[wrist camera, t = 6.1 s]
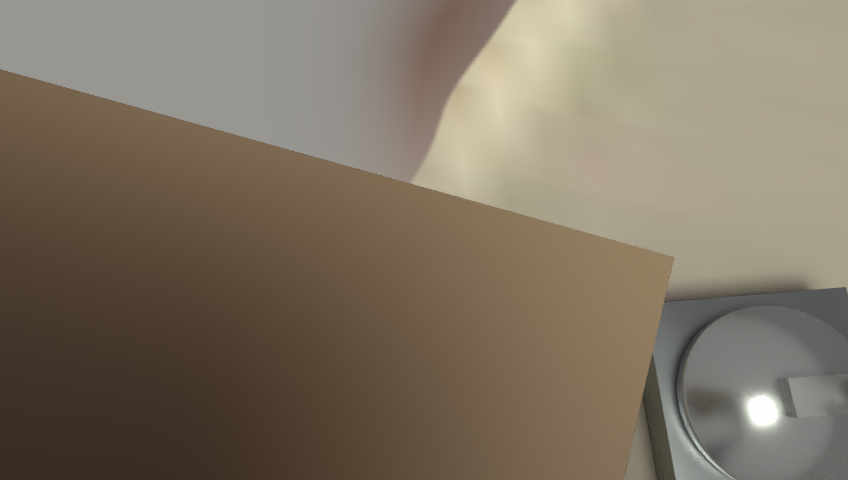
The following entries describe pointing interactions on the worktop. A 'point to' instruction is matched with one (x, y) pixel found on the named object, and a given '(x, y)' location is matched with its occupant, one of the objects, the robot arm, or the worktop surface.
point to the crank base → (680, 321)
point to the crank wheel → (768, 395)
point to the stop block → (294, 314)
